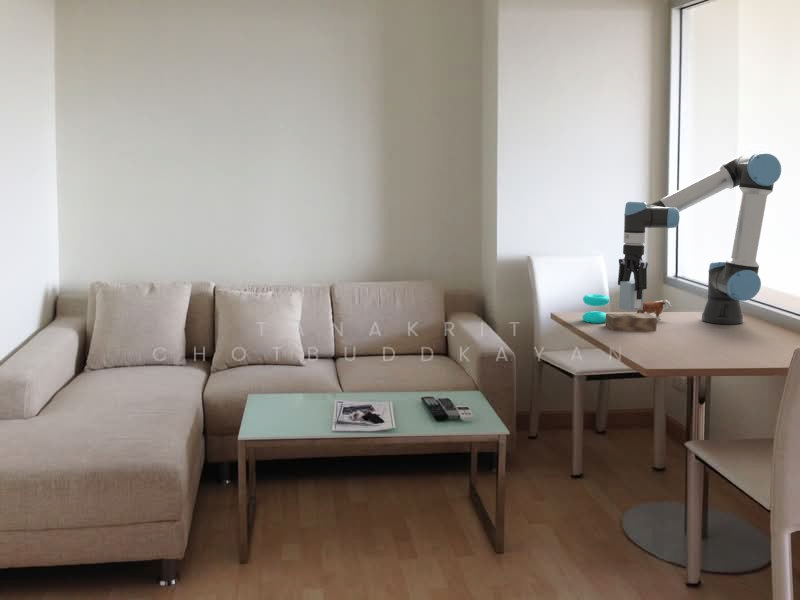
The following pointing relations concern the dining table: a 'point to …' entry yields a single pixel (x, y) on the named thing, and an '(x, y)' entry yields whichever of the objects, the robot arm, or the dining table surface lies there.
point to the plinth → (631, 322)
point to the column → (628, 296)
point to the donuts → (595, 301)
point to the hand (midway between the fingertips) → (631, 306)
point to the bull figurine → (655, 307)
